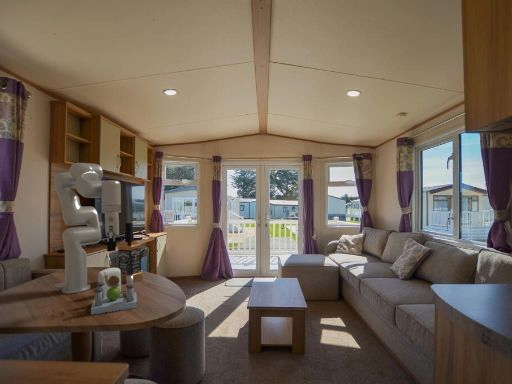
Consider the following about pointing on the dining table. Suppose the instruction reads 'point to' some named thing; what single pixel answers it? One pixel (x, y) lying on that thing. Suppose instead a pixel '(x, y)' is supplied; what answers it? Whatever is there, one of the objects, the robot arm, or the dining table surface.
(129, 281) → the hinged leg
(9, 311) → the dining table surface
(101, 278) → the photo printer
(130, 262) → the whiskey bottle
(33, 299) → the dining table surface
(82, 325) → the dining table surface
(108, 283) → the snail figurine
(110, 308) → the stool frame
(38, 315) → the dining table surface
